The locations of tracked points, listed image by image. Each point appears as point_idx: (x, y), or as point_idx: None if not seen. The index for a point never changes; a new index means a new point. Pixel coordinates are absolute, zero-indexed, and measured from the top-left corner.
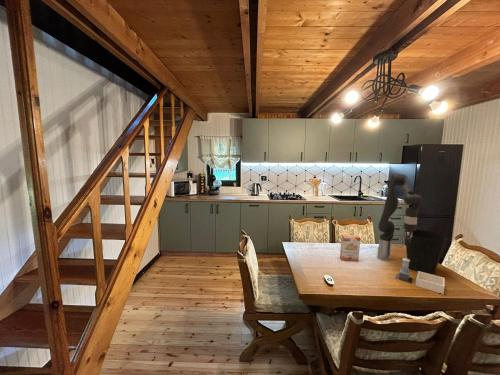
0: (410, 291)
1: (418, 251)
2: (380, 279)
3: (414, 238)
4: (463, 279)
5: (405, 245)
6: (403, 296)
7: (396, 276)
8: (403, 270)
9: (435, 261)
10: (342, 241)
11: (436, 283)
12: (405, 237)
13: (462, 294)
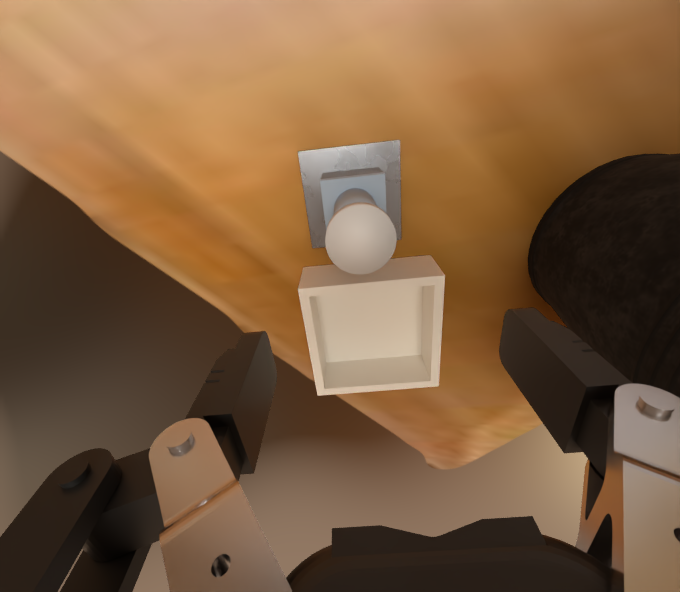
0: (221, 260)
1: (646, 310)
2: (209, 63)
3: None
4: None
5: (241, 339)
6: (129, 246)
7: (342, 151)
8: (334, 207)
9: None
10: None
11: (419, 337)
12: (201, 503)
13: (390, 408)
